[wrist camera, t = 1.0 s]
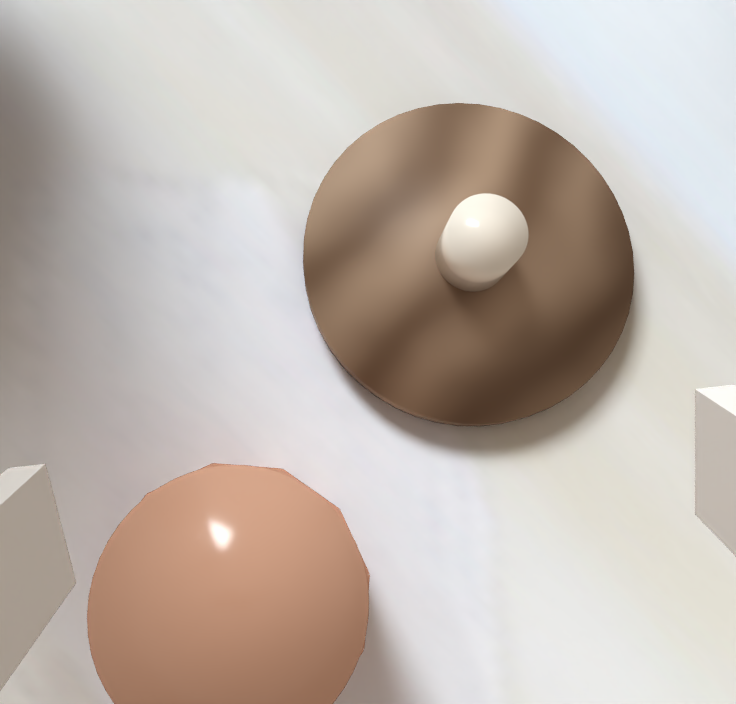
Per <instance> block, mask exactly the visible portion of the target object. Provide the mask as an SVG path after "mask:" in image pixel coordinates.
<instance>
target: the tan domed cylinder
mask: <svg viewBox="0 0 736 704" xmlns="http://www.w3.org/2000/svg"><path fill="white" fill-rule="evenodd" d="M369 577H370V575H369V572H368V569H367V567H366V565H365V563H364V561H363V558H362V556H361V554H360V552H359V550H358V547H357V545H356V542H355V540H354V538H353V537H352V535H351V532H350V530H349V528H348V526H347V524H346V521H345V519H344V517H343V515H342V513H341V511H340V509H339V508H338V507H336V506H335V505H333V504H332V503H331V502H329V501H328V500H326V499H325V498H324V497H322V496H321V495H319V494H318V493H316V492H315V491H314V490H312V489H311V488H309V487H308V486H306V485H305V484H304V483H302V482H301V481H299V480H298V479H297V478H295V477H294V476H292V475H291V474H289V473H288V472H287V471H285V470H284V469H279V468H267V467H254V466H247V465H230V464H217V463H212V464H210V465H208V466H206V467H203V468H201V469H199V470H197V471H193V472H191V473H188V474H186V475H183V476H180V477H178V478H176V479H174V480H172V481H170V482H168V483H166V484H165V485H163V486H161V487H159V488H158V489H156V490H154V491H152V492H150V493H147V494H146V495H145V497H144V498H143V499H142V501H141V502H140V503H139V504H138V505H136V506H135V507H134V508H133V509H132V510H131V511H130V512H129V513H128V515H127V516H126V517H125V518H124V519H123V521H122V522H121V523H120V524H119V525H118V527H117V528H116V530H115V531H114V533H113V534H112V536H111V537H110V539H109V540H108V542H107V544H106V546H105V548H104V550H103V552H102V554H101V556H100V558H99V561H98V564H97V567H96V570H95V573H94V575H93V579H92V584H91V588H90V593H89V600H88V611H87V624H88V638H89V644H90V650H91V655H92V658H93V661H94V664H95V667H96V671H97V673H98V676H99V678H100V680H101V682H102V684H103V686H104V688H105V690H106V692H107V693H108V695H109V696H110V698H111V699H112V701H113V702H114V704H333V703H334V701H335V700H336V699H337V697H338V696H339V694H340V693H341V692H342V690H343V689H344V688H345V686H346V684H347V682H348V680H349V678H350V677H351V675H352V673H353V671H354V669H355V667H356V664H357V662H358V659H359V657H360V655H361V654H362V652H363V651H364V646H365V636H366V630H367V623H368V616H369V593H368V591H369Z"/></svg>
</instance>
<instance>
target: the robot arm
mask: <svg viewBox="0 0 736 704" xmlns="http://www.w3.org/2000/svg"><path fill="white" fill-rule="evenodd" d="M695 515H696V516H697V517H698V518H699V519H700V520H701V521H702V522H703V523H704V524H705V525H706V526H707V527H708V528H709V529H710V530H711V532H712V533H713V534H714V535H715V536H716V537H717V538H718V539H719V540H720V541H721V542H722V543H723V544H724V545H725V546H726V547H727V548H728V549H729V550H730V551H731V552H732V553H733V554H734V555H735V556H736V386H735V385H726V386H718V387H709V388H700V389H695ZM75 584H76V580H75V576H74V572H73V568H72V565H71V561H70V557H69V553H68V549H67V545H66V541H65V537H64V534H63V530H62V526H61V522H60V518H59V514H58V510H57V506H56V502H55V499H54V495H53V491H52V487H51V483H50V479H49V475H48V471H47V468H46V464H39V465H30V466H21V467H13V468H8V469H7V470H6V471H4V472H3V473H2V474H1V475H0V691H1V689H2V688H3V686H4V685H5V684H6V682H7V681H8V679H9V678H10V676H11V675H12V674H13V672H14V671H15V669H16V668H17V666H18V665H19V664H20V662H21V661H22V659H23V658H24V656H25V655H26V654H27V652H28V651H29V649H30V648H31V646H32V645H33V644H34V642H35V641H36V639H37V638H38V636H39V635H40V634H41V632H42V631H43V629H44V628H45V626H46V625H47V624H48V622H49V621H50V619H51V618H52V617H53V615H54V614H55V612H56V611H57V609H58V608H59V607H60V605H61V604H62V602H63V601H64V599H65V598H66V597H67V595H68V594H69V592H70V591H71V589H72V588H73V587H74V585H75Z"/></svg>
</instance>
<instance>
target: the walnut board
mask: <svg viewBox="0 0 736 704" xmlns="http://www.w3.org/2000/svg"><path fill="white" fill-rule="evenodd" d="M484 193H486V194H495V195H499V196H501V197H504V198H506V199H508V200H509V201H511V202H512V203H513V204H514V205H516V206H517V207H518V209H519V210H520V211H521V212H522V214H523V216H524V218H525V220H526V223H527V226H528V243H527V246H526V249H525V251H524V253H523V255H522V256H521V257H520V258H519V259H518V261H517V262H516V263H515V264H514V265H513V266H512V267H511V268H510V269H509V271H508V272H507V273H506V274H505V275H504V276H503V277H502V278H501V279H500V280H499V281H498V282H497V283H496V284H495V285H494V286H492V287H490V288H488V289H486V290H483V291H476V292H470V291H464V290H461V289H459V288H456V287H455V286H453V285H451V284H450V283H449V282H448V281H447V280H446V279H445V278H444V277H443V276H442V275H441V273H440V271H439V269H438V267H437V264H436V259H435V250H436V245H437V242H438V240H439V238H440V236H441V234H442V232H443V230H444V228H445V226H446V224H447V222H448V220H449V218H450V216H451V215H452V213H453V211H454V209H455V208H456V207H457V206H458V205H459V204H460V203H461V202H462V201H463V200H465V199H466V198H468V197H470V196H473V195H477V194H484ZM303 266H304V277H305V287H306V292H307V296H308V300H309V304H310V308H311V311H312V314H313V316H314V319H315V321H316V324H317V327H318V329H319V331H320V333H321V335H322V336H323V338H324V340H325V342H326V344H327V345H328V347H329V349H330V350H331V352H332V353H333V354H334V356H335V357H336V358H337V360H338V361H339V362H340V364H341V365H342V366H343V367H344V368H345V369H346V370H347V371H348V372H349V373H350V374H351V376H352V377H353V378H354V379H355V380H356V381H357V382H358V383H360V384H361V385H362V386H363V387H365V388H366V389H367V390H369V391H370V392H371V393H372V394H374V395H375V396H376V397H378V398H380V399H381V400H383V401H385V402H386V403H388V404H390V405H391V406H393V407H395V408H397V409H399V410H402V411H404V412H406V413H408V414H411V415H413V416H416V417H419V418H423V419H426V420H429V421H433V422H436V423H443V424H450V425H456V426H486V425H494V424H502V423H506V422H510V421H514V420H518V419H522V418H525V417H528V416H531V415H533V414H535V413H538V412H540V411H543V410H545V409H548V408H550V407H552V406H554V405H555V404H557V403H559V402H560V401H562V400H564V399H566V398H567V397H569V396H570V395H572V394H573V393H574V392H575V391H577V390H578V389H579V388H580V387H582V386H583V385H584V384H585V383H586V382H587V381H588V380H589V379H590V378H591V377H592V376H593V375H594V374H595V373H596V372H597V371H598V370H599V369H600V368H601V366H602V365H603V363H604V362H605V361H606V359H607V358H608V356H609V355H610V354H611V352H612V351H613V349H614V347H615V345H616V343H617V341H618V339H619V337H620V335H621V333H622V331H623V328H624V325H625V322H626V319H627V317H628V314H629V309H630V304H631V299H632V295H633V282H634V263H633V251H632V246H631V241H630V236H629V231H628V228H627V225H626V222H625V219H624V216H623V213H622V211H621V209H620V207H619V205H618V203H617V201H616V198H615V196H614V194H613V193H612V191H611V189H610V188H609V186H608V185H607V183H606V182H605V180H604V179H603V177H602V176H601V174H600V173H599V172H598V171H597V169H596V168H595V167H594V166H593V165H592V163H591V162H590V161H589V160H588V159H587V158H586V157H585V156H584V155H583V154H582V153H581V152H580V151H579V150H578V149H577V148H576V147H575V146H573V145H572V144H571V143H569V142H568V141H567V140H566V139H564V138H563V137H562V136H560V135H559V134H558V133H556V132H554V131H553V130H551V129H549V128H547V127H546V126H544V125H542V124H541V123H539V122H537V121H534V120H532V119H530V118H527V117H525V116H523V115H521V114H518V113H514V112H511V111H508V110H505V109H501V108H497V107H491V106H485V105H480V104H464V103H454V104H439V105H433V106H428V107H423V108H418V109H414V110H411V111H408V112H405V113H402V114H399V115H397V116H395V117H393V118H391V119H388V120H386V121H384V122H382V123H380V124H378V125H377V126H375V127H374V128H372V129H371V130H369V131H368V132H366V133H365V134H363V135H362V136H361V137H360V138H358V139H357V140H356V141H355V142H354V143H353V144H351V145H350V146H349V147H348V148H347V149H346V150H345V151H344V152H343V154H342V155H341V156H340V157H339V158H338V159H337V160H336V161H335V163H334V164H333V165H332V167H331V168H330V170H329V171H328V173H327V174H326V176H325V177H324V179H323V181H322V183H321V185H320V187H319V189H318V191H317V193H316V195H315V197H314V200H313V203H312V206H311V209H310V212H309V215H308V218H307V224H306V230H305V236H304V254H303Z"/></svg>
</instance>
